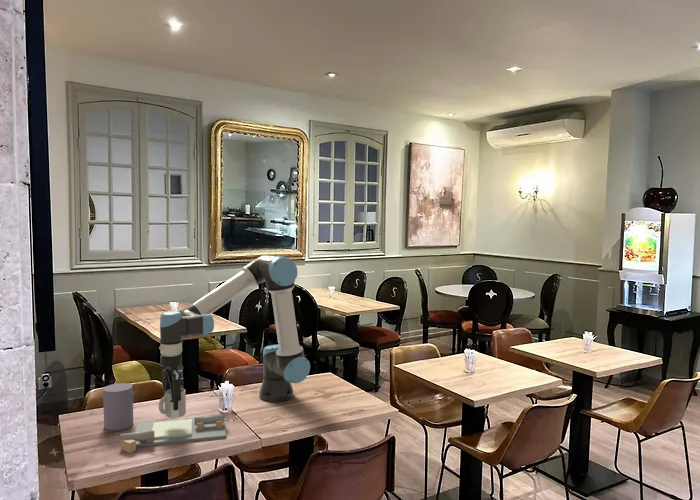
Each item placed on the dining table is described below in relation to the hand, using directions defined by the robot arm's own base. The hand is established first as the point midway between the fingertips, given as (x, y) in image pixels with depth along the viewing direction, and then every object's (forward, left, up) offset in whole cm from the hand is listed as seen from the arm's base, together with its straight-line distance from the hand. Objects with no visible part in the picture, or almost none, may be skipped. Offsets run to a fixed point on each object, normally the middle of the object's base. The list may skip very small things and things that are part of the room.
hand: (171, 414), depth 198 cm
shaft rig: (-1, +2, -7) cm, 7 cm away
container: (+20, -12, -7) cm, 24 cm away
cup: (0, 0, 0) cm, 1 cm away
